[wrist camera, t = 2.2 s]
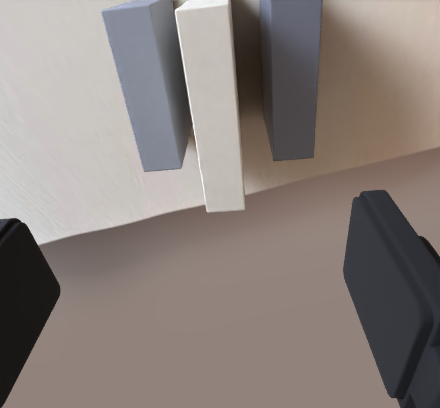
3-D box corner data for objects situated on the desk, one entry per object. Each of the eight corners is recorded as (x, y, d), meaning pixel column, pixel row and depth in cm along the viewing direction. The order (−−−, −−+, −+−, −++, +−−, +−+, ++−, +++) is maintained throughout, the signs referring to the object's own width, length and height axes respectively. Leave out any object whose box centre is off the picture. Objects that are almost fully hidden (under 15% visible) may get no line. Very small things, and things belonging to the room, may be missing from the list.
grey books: (297, -22, 26) (323, -18, 19) (295, 115, 33) (314, 158, 25) (135, -1, 27) (100, 10, 20) (162, 127, 34) (143, 172, 26)
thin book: (229, -13, 27) (229, 2, 15) (240, 120, 33) (245, 210, 21) (199, -9, 27) (173, 9, 15) (215, 122, 33) (206, 213, 21)
